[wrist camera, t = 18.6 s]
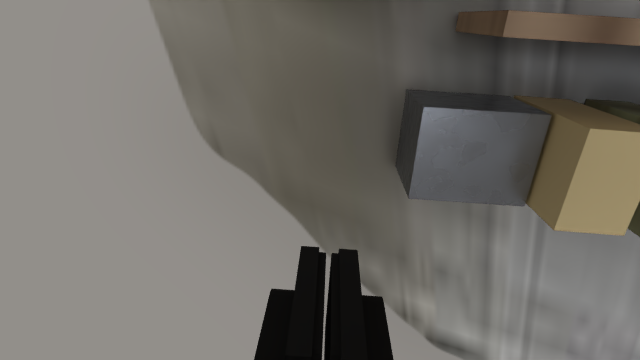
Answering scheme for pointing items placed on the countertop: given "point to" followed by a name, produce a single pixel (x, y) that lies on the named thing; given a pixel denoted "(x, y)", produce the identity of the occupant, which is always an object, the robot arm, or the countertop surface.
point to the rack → (563, 30)
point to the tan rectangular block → (585, 169)
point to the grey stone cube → (469, 147)
